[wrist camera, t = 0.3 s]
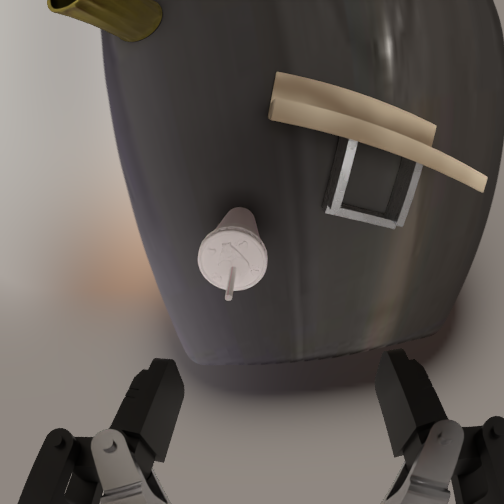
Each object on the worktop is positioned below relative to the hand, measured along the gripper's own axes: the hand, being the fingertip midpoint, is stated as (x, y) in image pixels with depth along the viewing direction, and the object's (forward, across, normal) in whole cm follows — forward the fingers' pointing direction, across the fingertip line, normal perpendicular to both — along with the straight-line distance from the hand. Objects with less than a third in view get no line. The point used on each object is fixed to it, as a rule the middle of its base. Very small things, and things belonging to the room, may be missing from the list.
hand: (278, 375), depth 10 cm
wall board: (+24, -10, -11) cm, 28 cm away
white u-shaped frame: (+25, -11, -3) cm, 27 cm away
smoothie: (+25, +4, +1) cm, 25 cm away
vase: (+22, +13, -26) cm, 37 cm away
